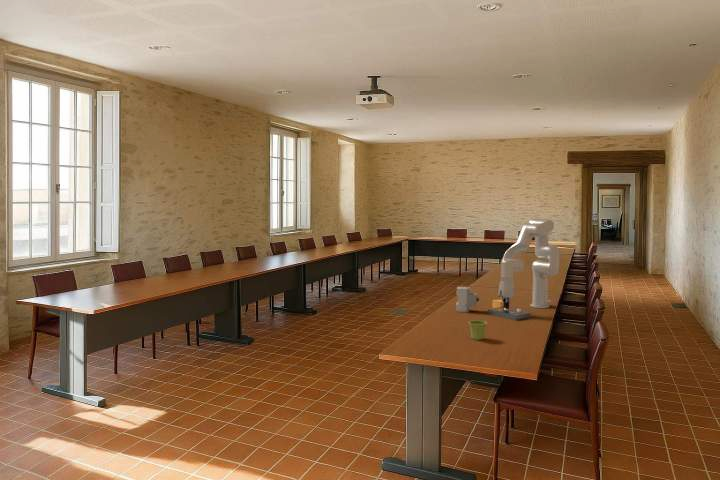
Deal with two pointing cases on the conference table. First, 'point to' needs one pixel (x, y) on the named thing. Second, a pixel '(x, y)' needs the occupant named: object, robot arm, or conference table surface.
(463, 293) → the circuit breaker
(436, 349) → the conference table surface
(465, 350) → the conference table surface
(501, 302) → the cap
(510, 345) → the conference table surface
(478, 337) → the plant pot
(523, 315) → the panel
